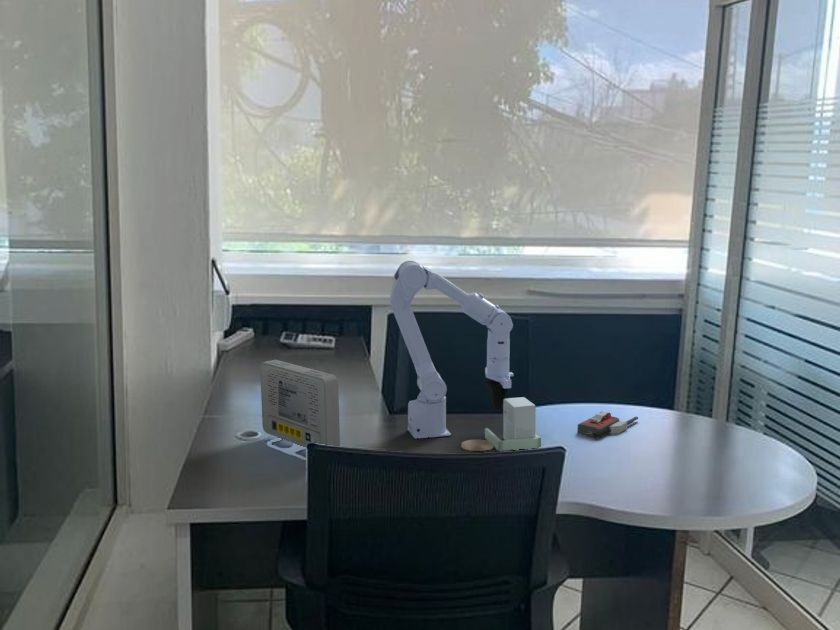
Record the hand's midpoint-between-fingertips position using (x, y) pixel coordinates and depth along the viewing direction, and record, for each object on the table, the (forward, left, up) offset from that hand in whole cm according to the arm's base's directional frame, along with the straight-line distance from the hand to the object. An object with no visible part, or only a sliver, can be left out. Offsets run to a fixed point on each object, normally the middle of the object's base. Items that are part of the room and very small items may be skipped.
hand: (497, 408), depth 222 cm
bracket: (0, -11, -6) cm, 12 cm away
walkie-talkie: (+28, -7, -6) cm, 29 cm away
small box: (+2, -11, -6) cm, 13 cm away
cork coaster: (-9, -11, -6) cm, 15 cm away
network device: (-51, -1, -6) cm, 51 cm away
